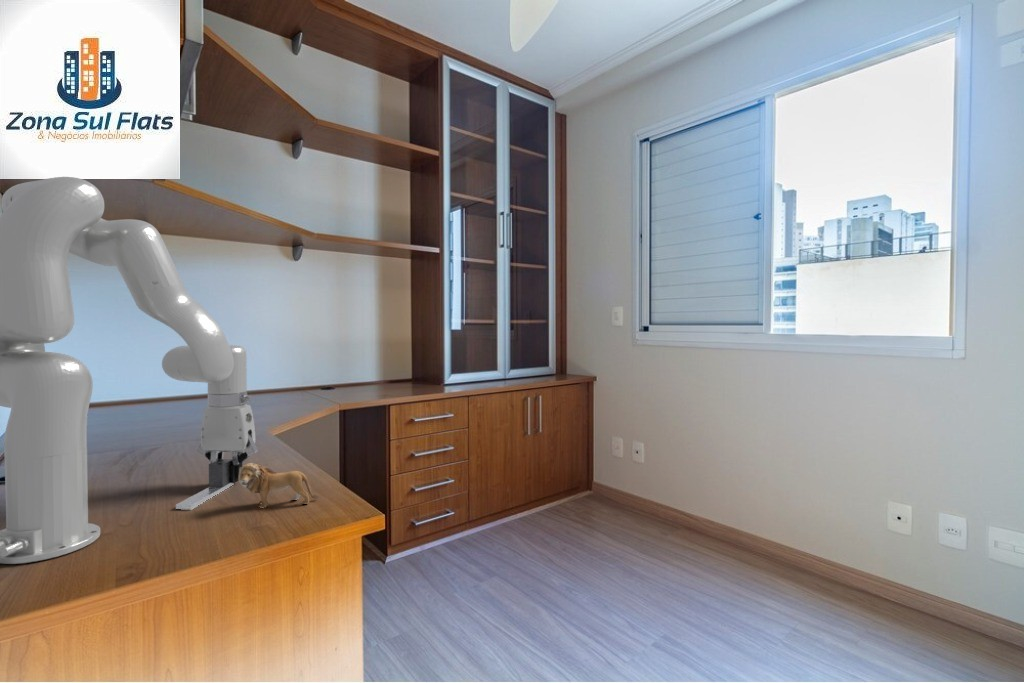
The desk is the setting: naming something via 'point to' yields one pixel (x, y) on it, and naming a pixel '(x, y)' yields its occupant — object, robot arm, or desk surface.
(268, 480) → the lion figurine
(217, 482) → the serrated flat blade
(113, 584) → the desk surface
